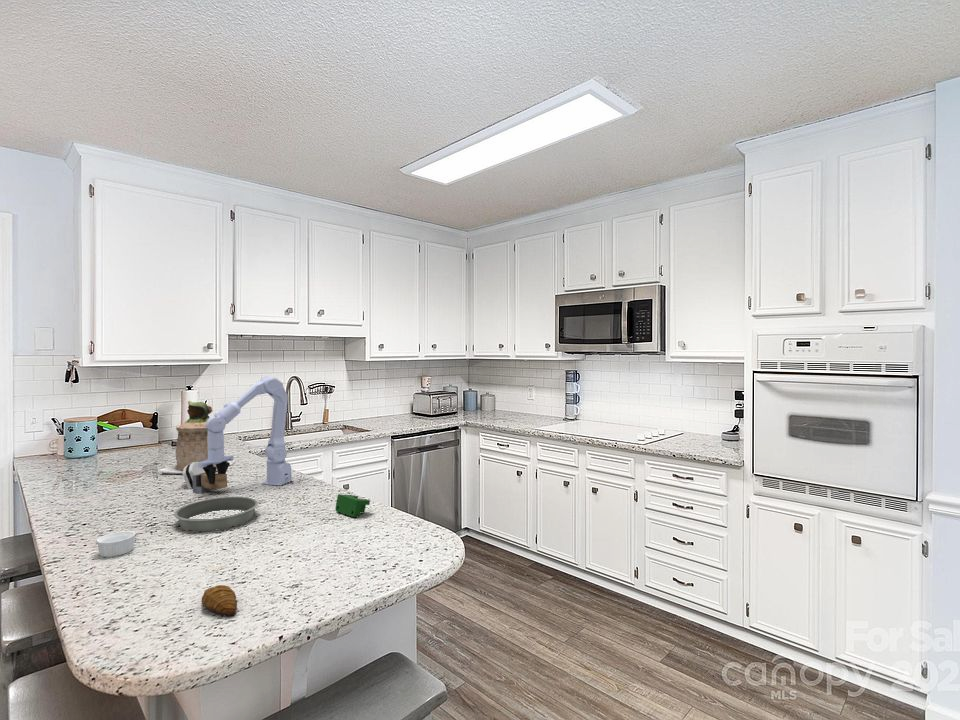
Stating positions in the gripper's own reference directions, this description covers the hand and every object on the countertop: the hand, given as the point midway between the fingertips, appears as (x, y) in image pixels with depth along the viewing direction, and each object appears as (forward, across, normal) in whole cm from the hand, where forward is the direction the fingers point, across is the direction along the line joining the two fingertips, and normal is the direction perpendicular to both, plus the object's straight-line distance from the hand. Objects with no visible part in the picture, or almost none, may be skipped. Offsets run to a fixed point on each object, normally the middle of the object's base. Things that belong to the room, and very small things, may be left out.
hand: (216, 482), depth 205 cm
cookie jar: (+4, -26, -43) cm, 50 cm away
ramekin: (+4, +53, +26) cm, 59 cm away
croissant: (+4, +64, +79) cm, 101 cm away
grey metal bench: (+4, 0, -6) cm, 8 cm away
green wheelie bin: (+4, 0, +65) cm, 65 cm away
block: (+2, 0, -1) cm, 2 cm away
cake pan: (+4, +23, +28) cm, 37 cm away
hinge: (+4, -6, -19) cm, 21 cm away
